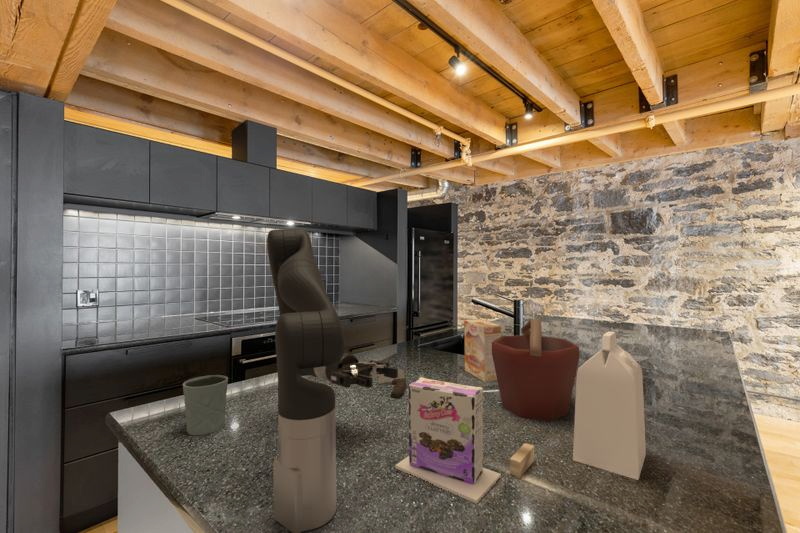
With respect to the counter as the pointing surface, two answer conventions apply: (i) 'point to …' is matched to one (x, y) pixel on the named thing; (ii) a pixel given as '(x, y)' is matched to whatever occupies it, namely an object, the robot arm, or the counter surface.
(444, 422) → the candy box
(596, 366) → the milk
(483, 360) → the coffeecake box
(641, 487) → the counter surface
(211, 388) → the green cup
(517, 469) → the block
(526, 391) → the bucket
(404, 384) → the cleaver
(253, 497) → the counter surface
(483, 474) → the board
